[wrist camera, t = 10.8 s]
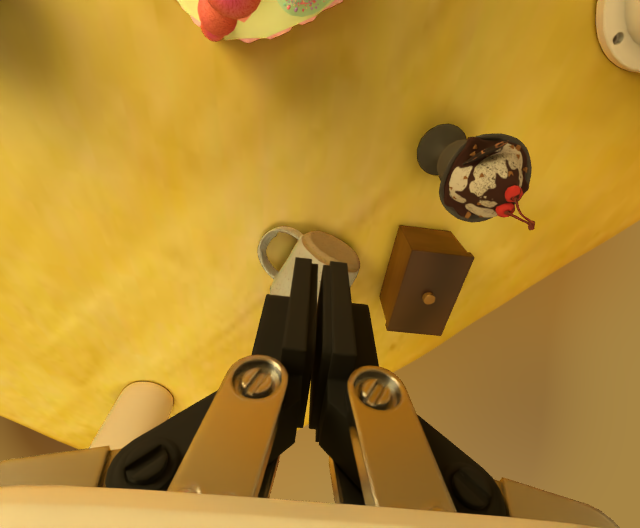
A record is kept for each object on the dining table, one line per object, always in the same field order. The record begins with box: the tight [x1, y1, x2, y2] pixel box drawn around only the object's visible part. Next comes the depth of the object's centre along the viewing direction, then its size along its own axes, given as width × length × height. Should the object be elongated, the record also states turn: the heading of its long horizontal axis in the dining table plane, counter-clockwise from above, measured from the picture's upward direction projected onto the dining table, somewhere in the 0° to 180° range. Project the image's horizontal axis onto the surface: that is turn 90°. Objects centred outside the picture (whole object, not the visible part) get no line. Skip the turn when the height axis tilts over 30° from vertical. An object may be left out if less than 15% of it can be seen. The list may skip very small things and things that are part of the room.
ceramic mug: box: [258, 226, 360, 302], centre depth 36 cm, size 11×8×8 cm
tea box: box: [379, 225, 474, 336], centre depth 38 cm, size 6×10×7 cm, turn 172°
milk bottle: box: [89, 382, 173, 450], centre depth 44 cm, size 8×8×20 cm
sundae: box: [417, 124, 535, 230], centre depth 27 cm, size 7×7×15 cm
